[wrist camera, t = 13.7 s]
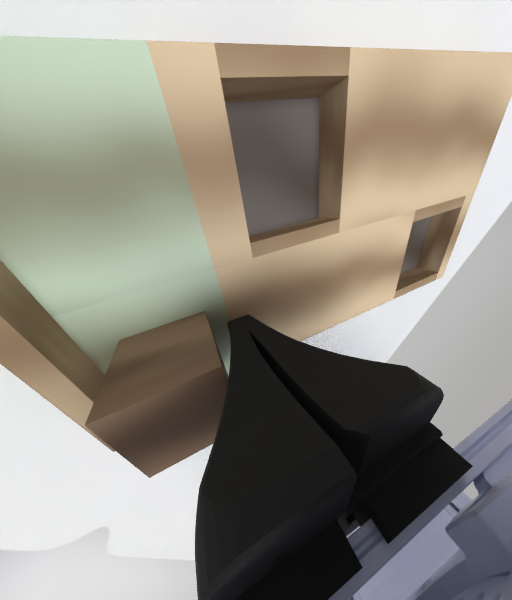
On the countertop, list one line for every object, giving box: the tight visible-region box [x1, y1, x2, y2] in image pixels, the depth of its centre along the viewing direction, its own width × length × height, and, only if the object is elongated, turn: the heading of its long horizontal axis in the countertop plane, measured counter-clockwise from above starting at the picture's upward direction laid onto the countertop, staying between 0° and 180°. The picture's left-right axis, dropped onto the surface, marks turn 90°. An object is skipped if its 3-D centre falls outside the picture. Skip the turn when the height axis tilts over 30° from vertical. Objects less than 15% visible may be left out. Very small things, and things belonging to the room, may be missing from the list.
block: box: [85, 311, 228, 478], centre depth 8 cm, size 4×4×4 cm
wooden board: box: [0, 36, 512, 452], centre depth 11 cm, size 14×28×4 cm, turn 100°
